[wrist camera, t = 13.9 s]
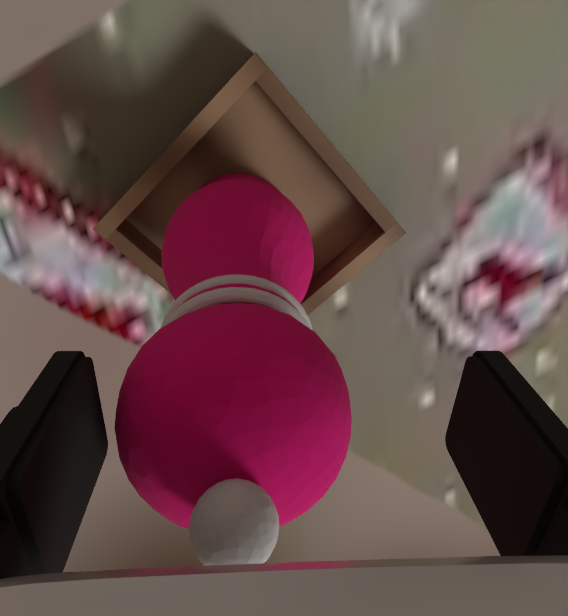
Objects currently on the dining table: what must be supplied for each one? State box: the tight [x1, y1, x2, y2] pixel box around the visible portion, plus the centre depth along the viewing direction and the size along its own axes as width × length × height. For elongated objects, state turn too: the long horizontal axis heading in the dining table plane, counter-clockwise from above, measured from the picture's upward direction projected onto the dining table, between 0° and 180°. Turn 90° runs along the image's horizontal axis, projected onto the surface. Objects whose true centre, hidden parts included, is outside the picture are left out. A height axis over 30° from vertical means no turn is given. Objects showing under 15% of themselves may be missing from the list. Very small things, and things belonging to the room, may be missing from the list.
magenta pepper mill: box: [115, 173, 352, 566], centre depth 17 cm, size 7×7×20 cm
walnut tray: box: [93, 52, 406, 315], centre depth 25 cm, size 12×12×3 cm
